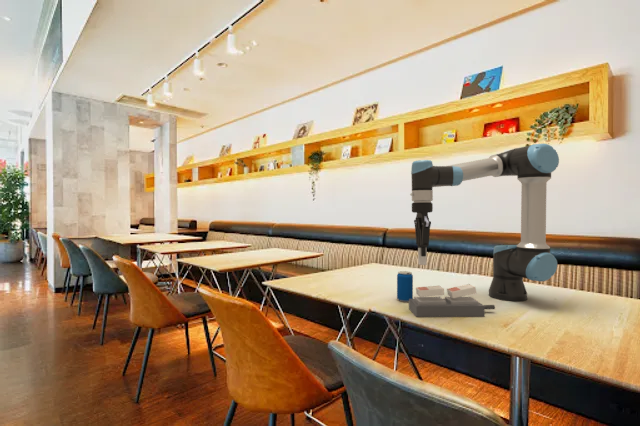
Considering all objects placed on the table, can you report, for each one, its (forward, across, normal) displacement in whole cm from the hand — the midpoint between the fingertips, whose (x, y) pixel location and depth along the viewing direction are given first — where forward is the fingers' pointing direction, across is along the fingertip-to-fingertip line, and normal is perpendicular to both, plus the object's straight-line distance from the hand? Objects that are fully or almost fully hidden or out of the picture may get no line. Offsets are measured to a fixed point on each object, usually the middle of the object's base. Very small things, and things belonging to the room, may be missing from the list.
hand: (422, 264), depth 133 cm
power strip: (+18, 0, +12) cm, 22 cm away
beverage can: (+19, -17, -2) cm, 25 cm away
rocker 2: (+11, 0, +15) cm, 19 cm away
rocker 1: (+11, 0, +3) cm, 12 cm away
